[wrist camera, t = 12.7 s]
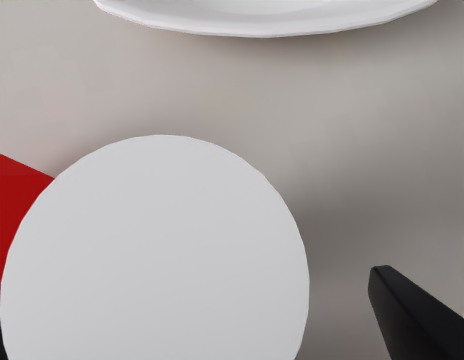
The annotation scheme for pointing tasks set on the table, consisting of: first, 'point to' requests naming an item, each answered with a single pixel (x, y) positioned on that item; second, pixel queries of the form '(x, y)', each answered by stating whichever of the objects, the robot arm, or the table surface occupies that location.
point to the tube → (156, 260)
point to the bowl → (261, 15)
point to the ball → (16, 200)
